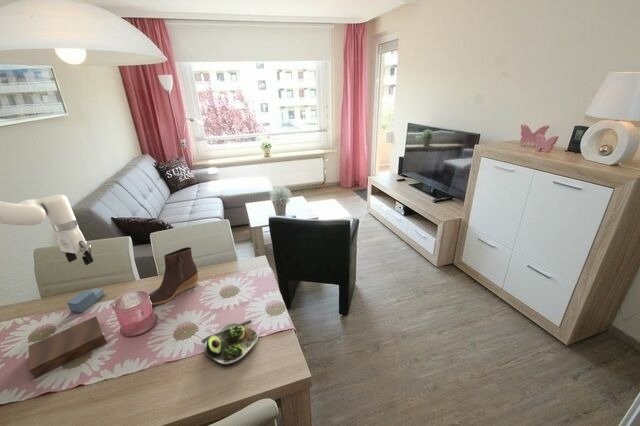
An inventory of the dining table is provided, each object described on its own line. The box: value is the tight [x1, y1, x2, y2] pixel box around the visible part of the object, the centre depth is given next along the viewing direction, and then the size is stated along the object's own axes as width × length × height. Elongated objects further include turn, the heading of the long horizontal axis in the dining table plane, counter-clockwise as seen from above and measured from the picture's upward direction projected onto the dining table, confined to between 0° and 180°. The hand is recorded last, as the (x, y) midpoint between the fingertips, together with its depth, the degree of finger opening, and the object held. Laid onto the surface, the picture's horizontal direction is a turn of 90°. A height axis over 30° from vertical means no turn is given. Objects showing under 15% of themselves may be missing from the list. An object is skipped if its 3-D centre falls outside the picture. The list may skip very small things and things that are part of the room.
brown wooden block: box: [28, 315, 108, 379], centre depth 105 cm, size 20×14×4 cm
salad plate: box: [200, 319, 259, 367], centre depth 104 cm, size 19×18×5 cm
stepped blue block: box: [66, 288, 106, 314], centre depth 128 cm, size 12×5×5 cm, turn 169°
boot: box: [148, 246, 199, 306], centre depth 129 cm, size 9×24×20 cm, turn 134°
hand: (81, 261), depth 123 cm, fingers open, 9 cm apart
